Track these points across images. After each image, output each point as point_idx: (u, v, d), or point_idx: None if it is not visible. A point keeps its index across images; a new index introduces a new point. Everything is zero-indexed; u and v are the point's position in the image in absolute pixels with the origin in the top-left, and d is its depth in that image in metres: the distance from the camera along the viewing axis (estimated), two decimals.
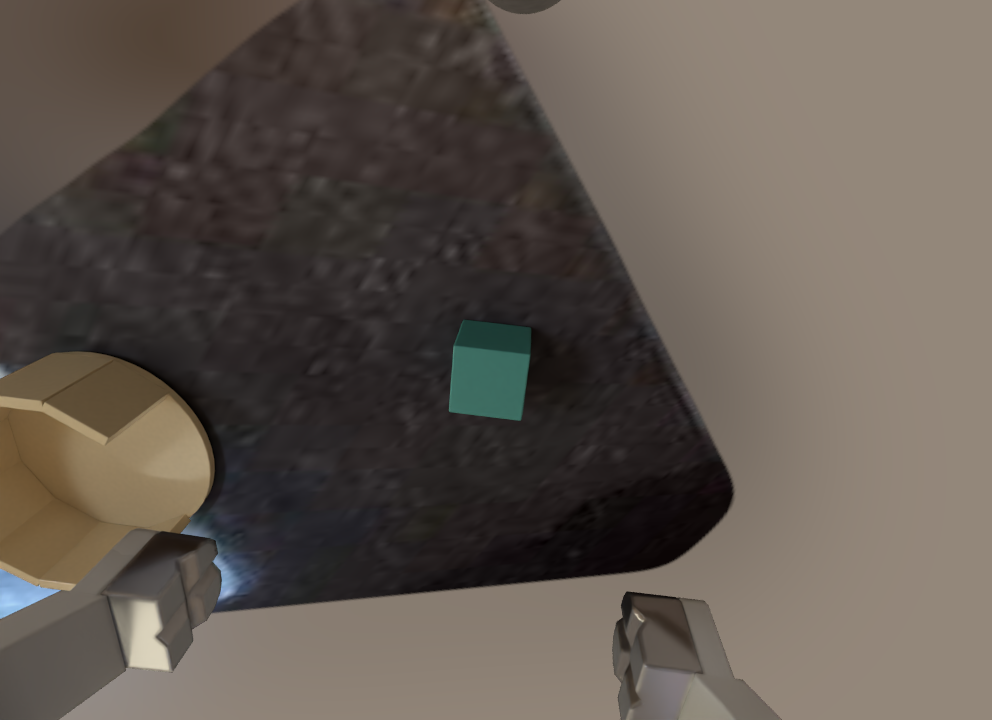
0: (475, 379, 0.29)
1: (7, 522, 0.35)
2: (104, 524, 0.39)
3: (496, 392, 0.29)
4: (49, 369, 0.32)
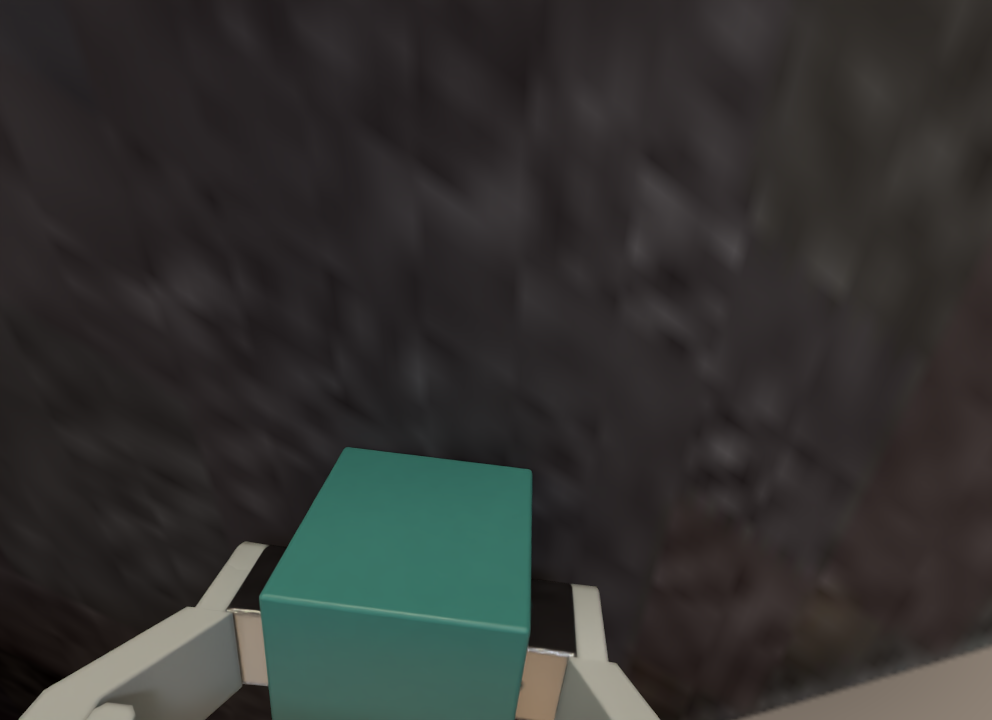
0: (403, 675, 0.08)
1: None
2: None
3: (364, 719, 0.09)
4: None
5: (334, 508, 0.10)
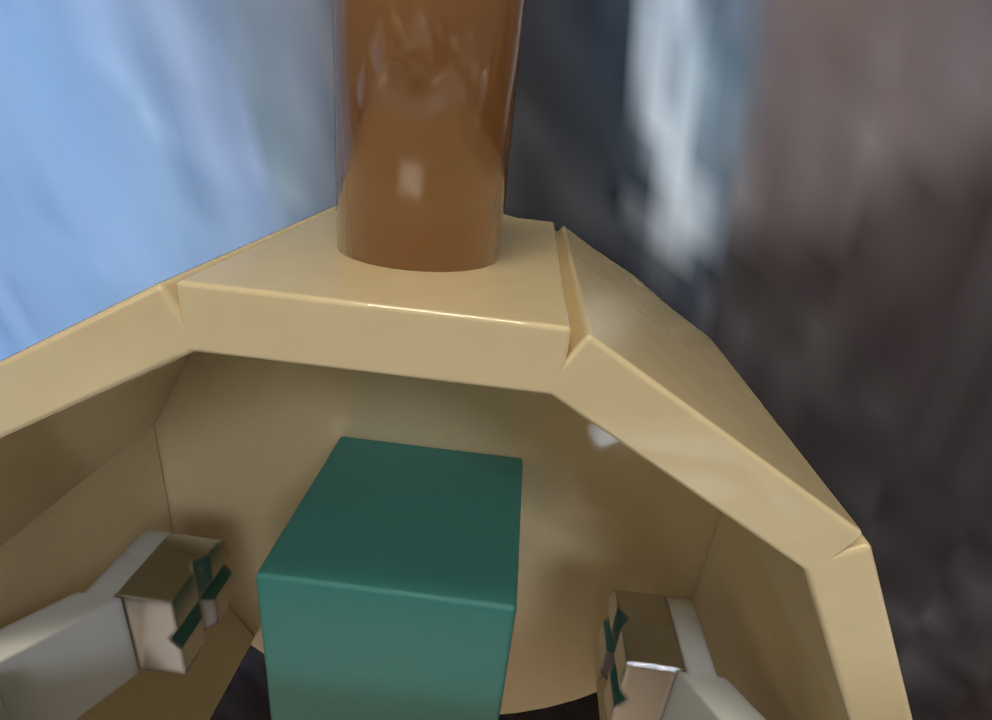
0: (395, 651, 0.09)
1: None
2: (151, 446, 0.12)
3: (357, 696, 0.09)
4: None
5: (329, 494, 0.10)
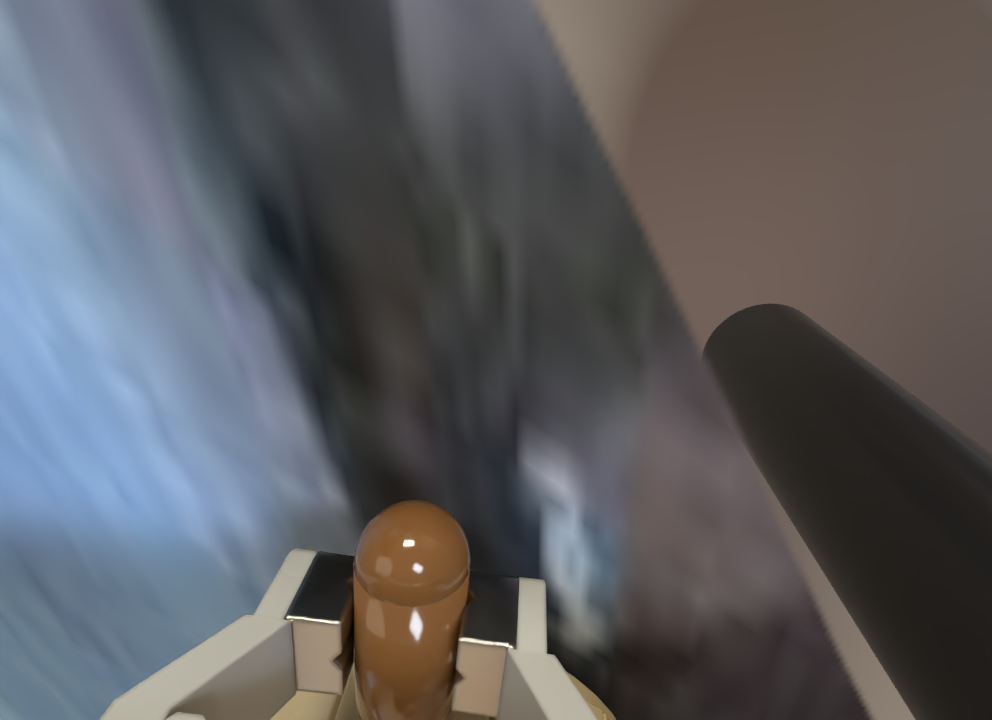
0: None
1: None
2: None
3: None
4: None
5: None
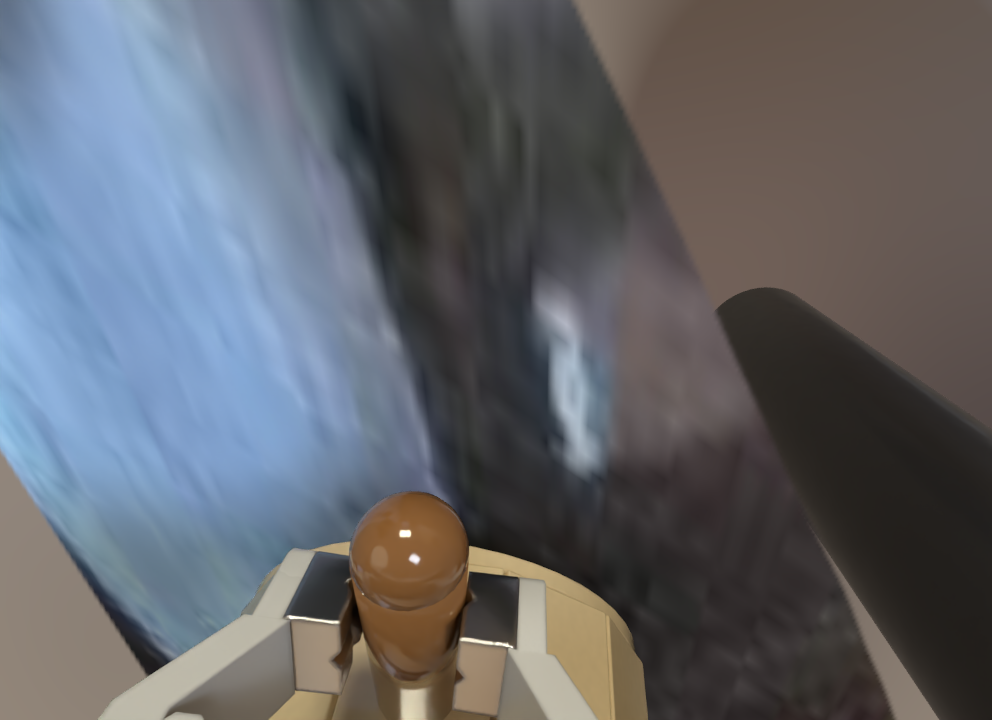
0: None
1: None
2: None
3: None
4: None
5: None
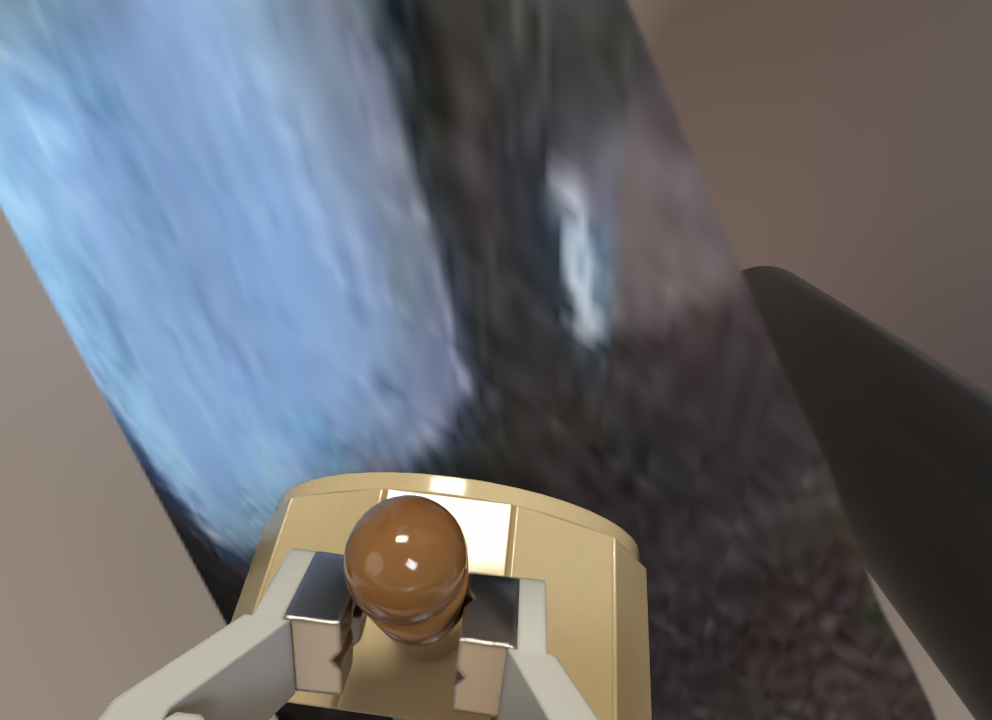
0: None
1: None
2: None
3: None
4: None
5: None
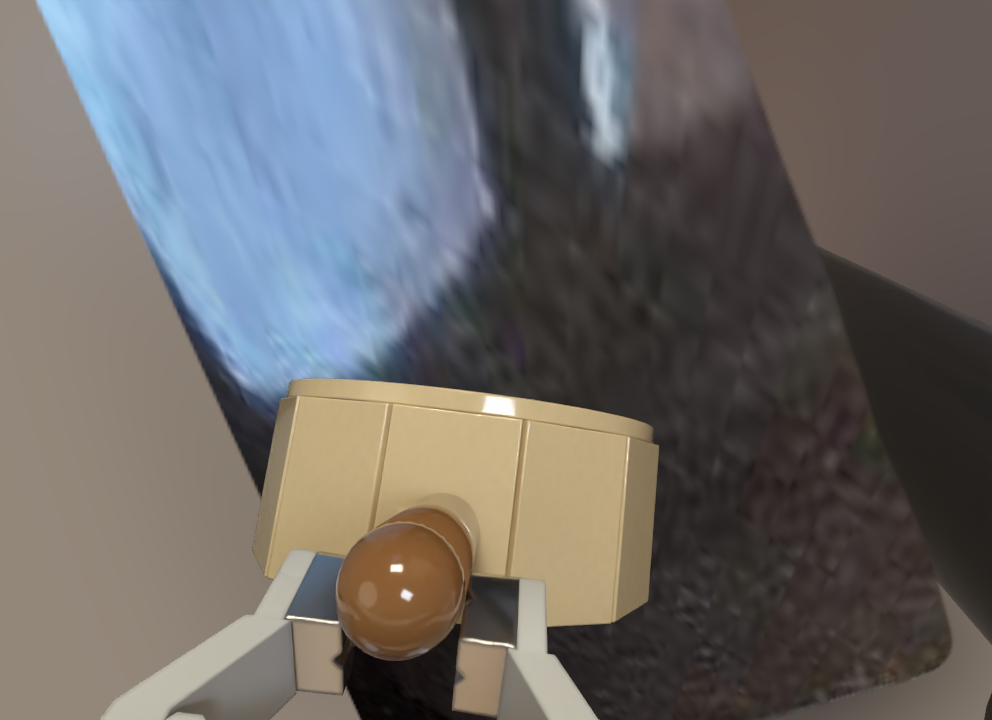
0: None
1: None
2: None
3: None
4: None
5: None
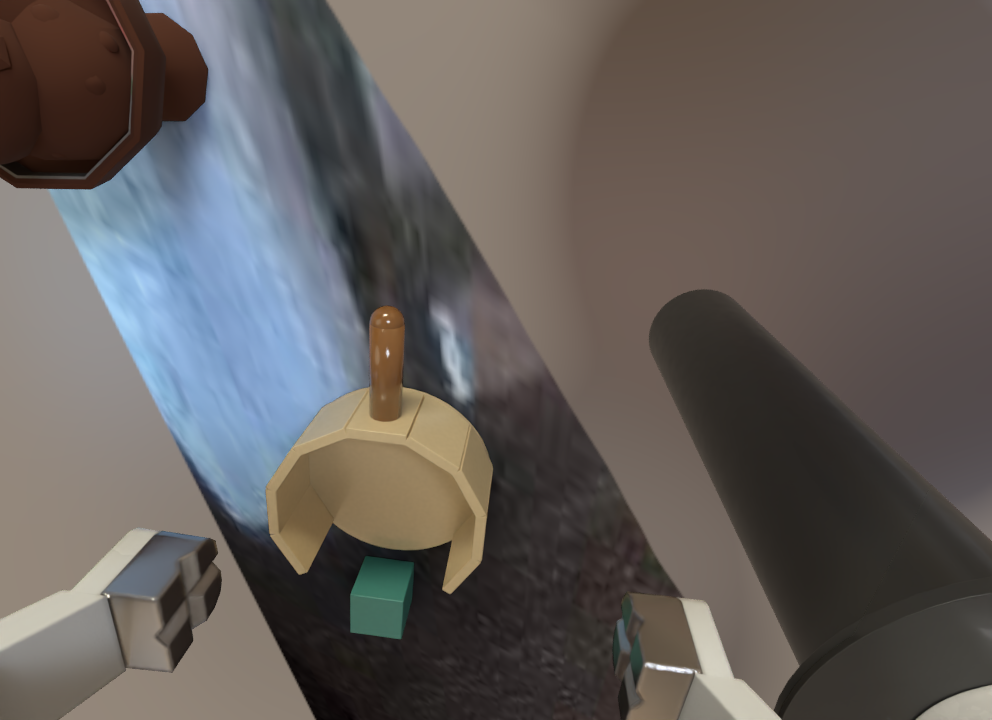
0: None
1: None
2: (307, 452, 0.39)
3: None
4: None
5: (355, 614, 0.41)
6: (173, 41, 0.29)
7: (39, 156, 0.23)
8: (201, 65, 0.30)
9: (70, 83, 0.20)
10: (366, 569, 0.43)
